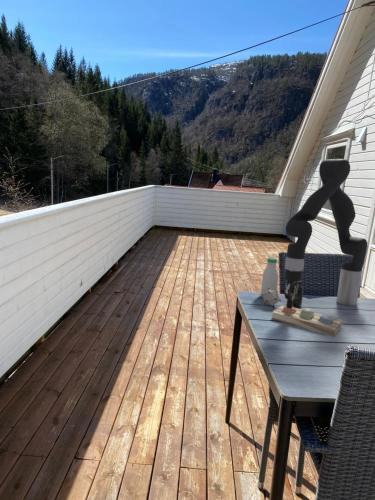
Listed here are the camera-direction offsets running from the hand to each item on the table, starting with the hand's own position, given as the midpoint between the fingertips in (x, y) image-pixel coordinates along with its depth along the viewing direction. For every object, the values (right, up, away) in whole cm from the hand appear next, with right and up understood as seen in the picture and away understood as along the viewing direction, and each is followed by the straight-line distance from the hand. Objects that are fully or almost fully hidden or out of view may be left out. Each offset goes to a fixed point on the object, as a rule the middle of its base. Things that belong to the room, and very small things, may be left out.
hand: (289, 307), depth 144 cm
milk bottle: (-2, +1, +28) cm, 28 cm away
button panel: (+6, -6, -3) cm, 9 cm away
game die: (-5, -2, +15) cm, 16 cm away
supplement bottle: (+8, -2, +18) cm, 20 cm away
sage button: (+6, -3, -4) cm, 8 cm away
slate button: (+12, -6, -8) cm, 15 cm away
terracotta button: (0, -3, +1) cm, 3 cm away
